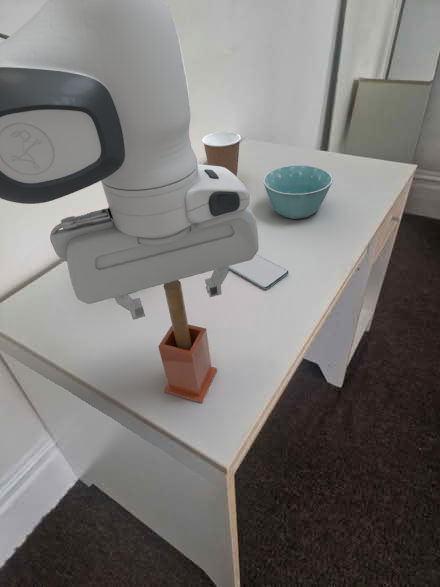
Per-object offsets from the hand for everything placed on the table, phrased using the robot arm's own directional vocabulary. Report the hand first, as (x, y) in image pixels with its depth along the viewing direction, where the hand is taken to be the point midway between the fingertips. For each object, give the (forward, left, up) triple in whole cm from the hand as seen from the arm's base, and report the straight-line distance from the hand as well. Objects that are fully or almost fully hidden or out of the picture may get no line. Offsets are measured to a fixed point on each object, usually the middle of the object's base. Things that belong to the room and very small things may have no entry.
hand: (176, 303), depth 45 cm
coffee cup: (-19, +66, -16) cm, 70 cm away
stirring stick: (0, 0, -15) cm, 15 cm away
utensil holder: (0, 0, -16) cm, 16 cm away
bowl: (+4, +54, -16) cm, 56 cm away
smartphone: (0, +29, -16) cm, 33 cm away
